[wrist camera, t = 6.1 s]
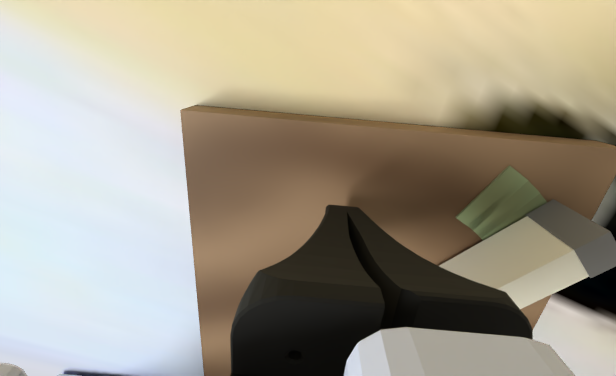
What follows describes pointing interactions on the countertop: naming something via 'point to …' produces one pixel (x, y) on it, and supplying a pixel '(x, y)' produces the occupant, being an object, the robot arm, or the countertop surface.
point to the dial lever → (538, 254)
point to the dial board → (360, 193)
